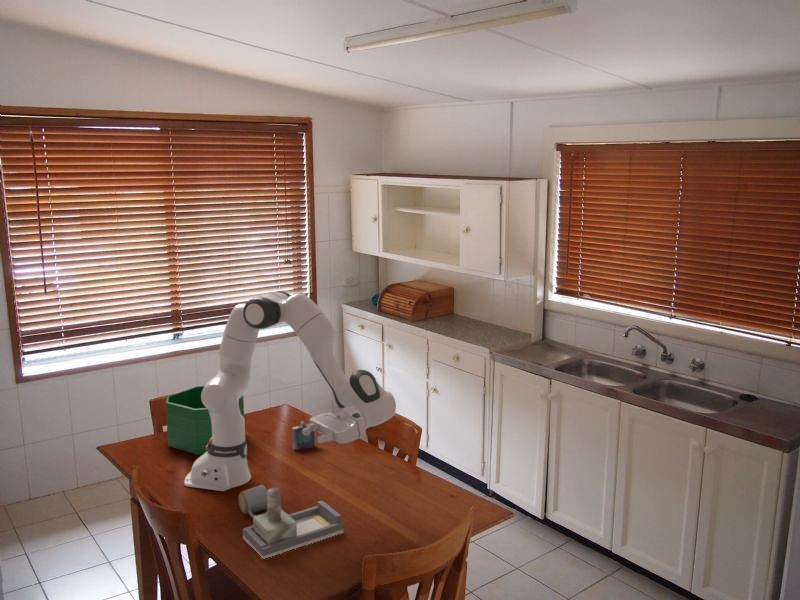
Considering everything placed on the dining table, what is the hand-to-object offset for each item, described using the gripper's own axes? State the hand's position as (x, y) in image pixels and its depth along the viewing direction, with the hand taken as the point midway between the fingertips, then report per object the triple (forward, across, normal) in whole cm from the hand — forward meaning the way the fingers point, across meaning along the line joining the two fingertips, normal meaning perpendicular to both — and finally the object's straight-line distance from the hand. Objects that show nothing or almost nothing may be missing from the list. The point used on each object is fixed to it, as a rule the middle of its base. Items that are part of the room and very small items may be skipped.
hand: (310, 436), depth 208 cm
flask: (-21, -58, +28) cm, 68 cm away
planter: (+7, -87, +22) cm, 90 cm away
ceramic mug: (+15, -20, +26) cm, 36 cm away
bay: (+12, 0, +28) cm, 30 cm away
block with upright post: (+17, 0, +25) cm, 31 cm away
